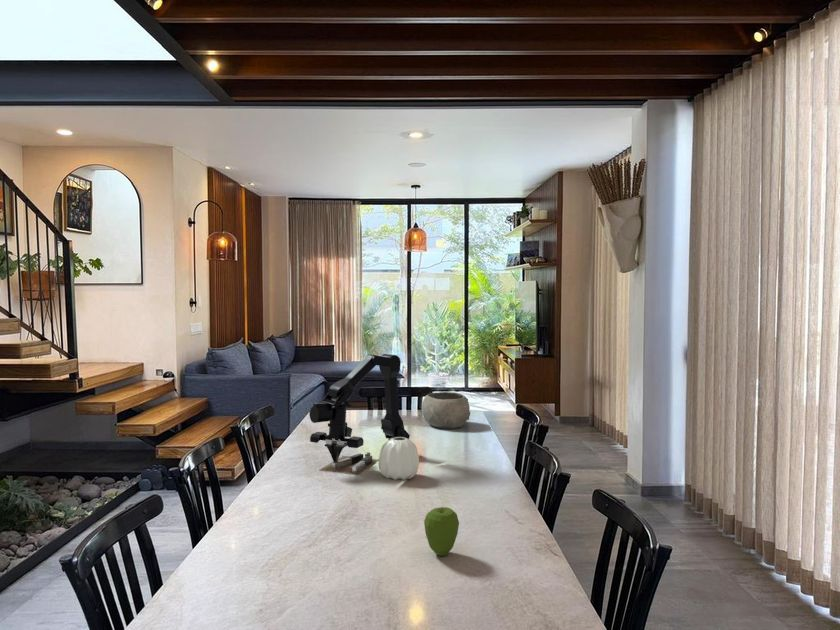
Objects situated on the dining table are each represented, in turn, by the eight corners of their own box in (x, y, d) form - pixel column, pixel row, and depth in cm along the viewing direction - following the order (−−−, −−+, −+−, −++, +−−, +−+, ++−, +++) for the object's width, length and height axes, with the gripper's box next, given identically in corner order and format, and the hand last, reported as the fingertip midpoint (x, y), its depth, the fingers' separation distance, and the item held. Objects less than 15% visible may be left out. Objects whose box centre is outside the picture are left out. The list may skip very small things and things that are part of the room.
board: (379, 461, 223) (379, 459, 223) (358, 477, 204) (358, 474, 204) (342, 457, 228) (342, 455, 228) (318, 472, 208) (318, 470, 208)
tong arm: (363, 460, 222) (363, 454, 221) (335, 468, 210) (335, 462, 210) (359, 459, 223) (359, 453, 223) (331, 467, 211) (331, 461, 211)
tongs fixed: (376, 458, 224) (376, 452, 224) (356, 472, 206) (356, 465, 206) (367, 458, 225) (367, 451, 225) (347, 471, 207) (347, 464, 207)
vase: (414, 484, 197) (414, 444, 196) (373, 481, 200) (374, 441, 199) (422, 472, 210) (423, 435, 210) (384, 469, 213) (384, 432, 213)
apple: (438, 543, 150) (439, 498, 150) (465, 553, 145) (466, 506, 145) (416, 554, 144) (417, 507, 143) (444, 565, 138) (445, 516, 138)
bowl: (415, 428, 279) (415, 396, 279) (428, 419, 301) (429, 389, 300) (463, 432, 272) (464, 400, 272) (473, 422, 294) (474, 392, 294)
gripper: (370, 419, 218) (368, 461, 218) (324, 413, 224) (322, 455, 224) (358, 424, 207) (355, 469, 208) (310, 418, 213) (308, 462, 213)
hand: (335, 463), depth 213 cm, fingers closed
